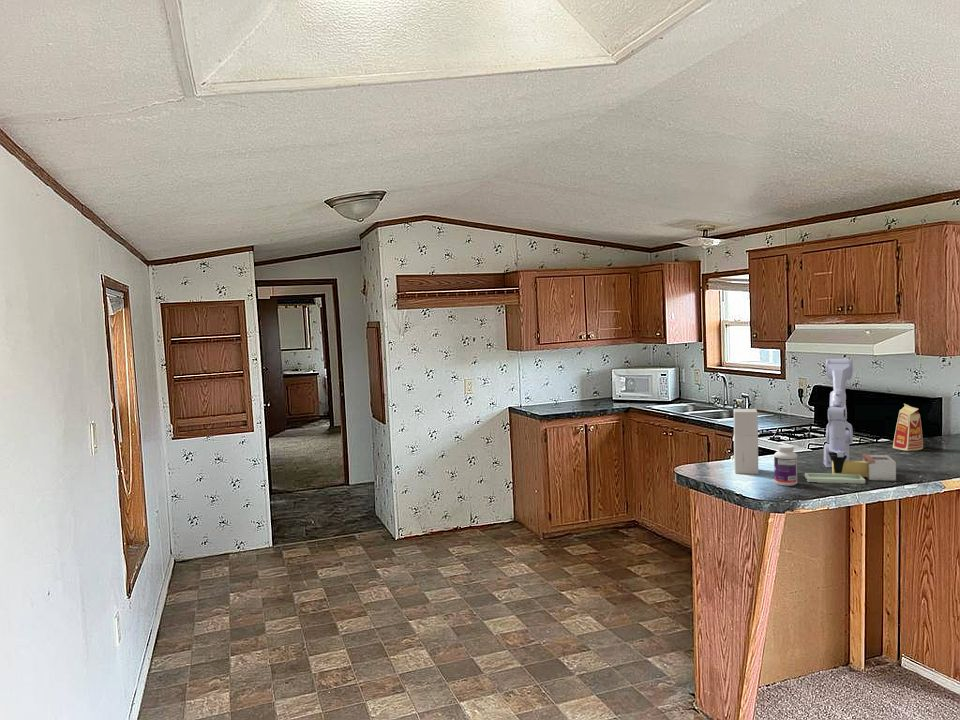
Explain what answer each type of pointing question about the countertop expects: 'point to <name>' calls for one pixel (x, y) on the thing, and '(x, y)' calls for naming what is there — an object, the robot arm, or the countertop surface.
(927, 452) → the countertop surface
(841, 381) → the robot arm
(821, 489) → the countertop surface
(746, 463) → the tall white carton
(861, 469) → the tan rectangular block
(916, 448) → the milk carton
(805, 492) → the countertop surface
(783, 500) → the countertop surface
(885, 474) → the dispenser
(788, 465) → the pill bottle
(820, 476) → the tray
